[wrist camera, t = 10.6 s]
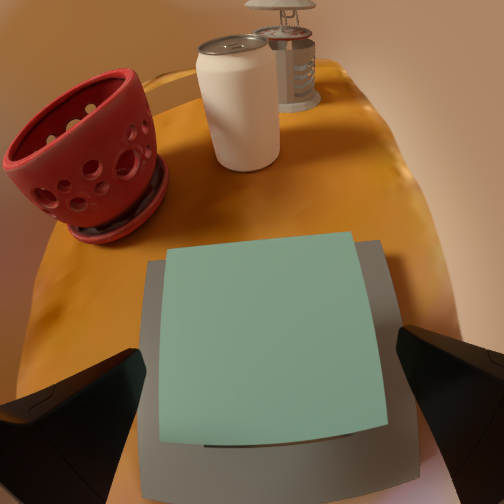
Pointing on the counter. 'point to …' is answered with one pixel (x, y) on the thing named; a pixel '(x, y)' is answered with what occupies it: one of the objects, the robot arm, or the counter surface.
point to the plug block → (267, 343)
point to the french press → (291, 56)
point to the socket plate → (291, 453)
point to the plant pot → (92, 159)
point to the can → (240, 100)
